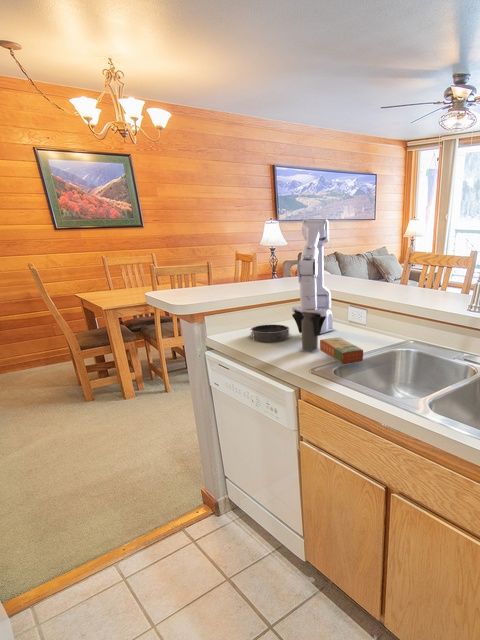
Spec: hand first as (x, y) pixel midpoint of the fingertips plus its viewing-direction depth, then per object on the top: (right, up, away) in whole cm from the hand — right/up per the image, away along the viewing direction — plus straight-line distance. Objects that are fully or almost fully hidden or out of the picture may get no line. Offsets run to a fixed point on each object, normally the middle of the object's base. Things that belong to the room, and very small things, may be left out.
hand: (309, 333), depth 150 cm
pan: (-17, +1, +16) cm, 24 cm away
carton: (+12, -9, -8) cm, 17 cm away
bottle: (0, -5, +2) cm, 6 cm away
